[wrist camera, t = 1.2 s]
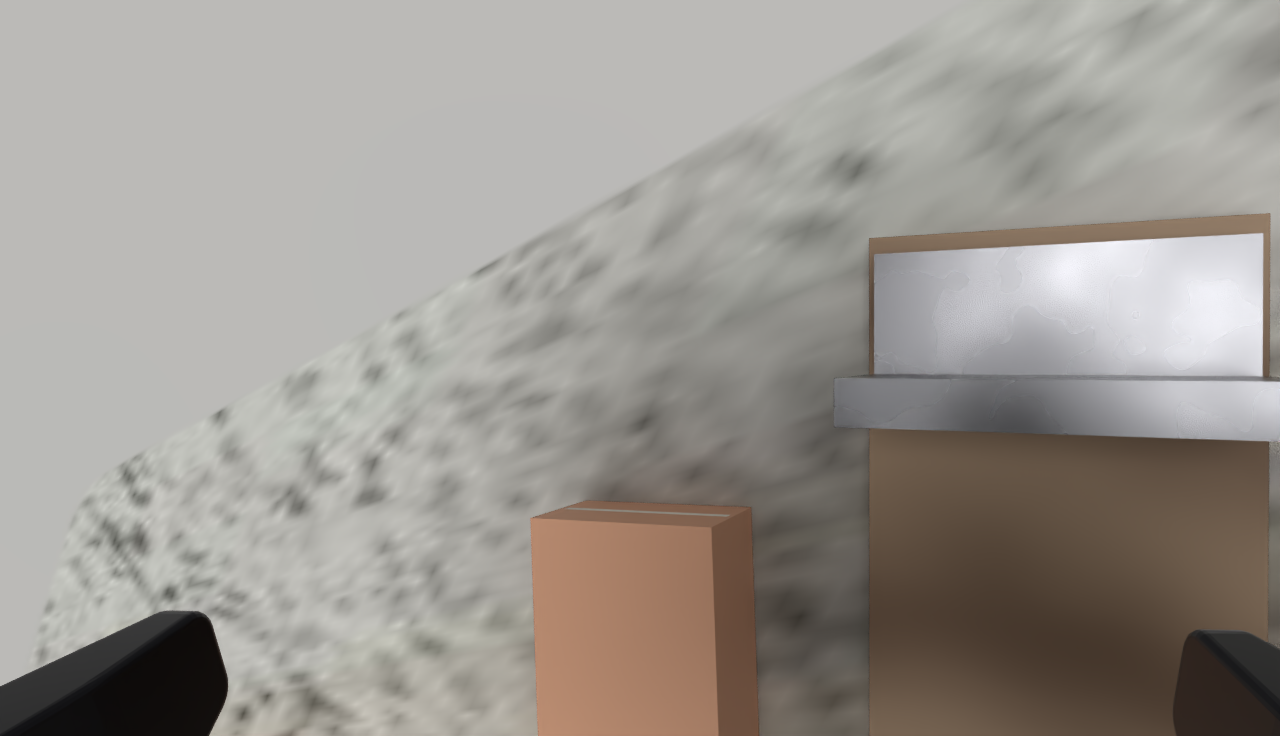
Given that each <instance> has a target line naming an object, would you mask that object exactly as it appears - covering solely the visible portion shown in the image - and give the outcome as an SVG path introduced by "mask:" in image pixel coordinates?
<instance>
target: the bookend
mask: <svg viewBox="0 0 1280 736" xmlns="http://www.w3.org/2000/svg"><path fill="white" fill-rule="evenodd" d="M834 427H844V428H875V429H906V430H937V431H968V432H998V433H1029V434H1060V435H1091V436H1122V437H1153V438H1184V439H1214V440H1245V441H1276V442H1280V378H1276V377H1266V376H1263V233H1256V234H1237V235H1219V236H1200V237H1182V238H1164V239H1145V240H1127V241H1108V242H1090V243H1072V244H1053V245H1035V246H1016V247H998V248H980V249H961V250H943V251H924V252H906V253H888V254H874V374H870V375H861V376H851V377H841V378H834Z"/></svg>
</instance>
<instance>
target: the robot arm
mask: <svg viewBox="0 0 1280 736" xmlns="http://www.w3.org/2000/svg"><path fill="white" fill-rule="evenodd" d="M227 692H228V677H227V673H226V669H225V666H224V663H223V659H222V656H221V653H220V649H219V646H218V642H217V639H216V636H215V632H214V629H213V625H212V623H211V621H210V619H209V618H208V617H207V616H206V615H205V614H204V613H201V612H199V611H163V612H159V613H156V614H154V615H152V616H150V617H148V618H145V619H143V620H141V621H139V622H137V623H135V624H133V625H131V626H128V627H126V628H124V629H122V630H120V631H118V632H116V633H113V634H111V635H109V636H107V637H105V638H103V639H101V640H98V641H96V642H94V643H92V644H90V645H88V646H86V647H83V648H81V649H79V650H77V651H75V652H73V653H71V654H69V655H66V656H64V657H62V658H60V659H58V660H56V661H54V662H51V663H49V664H47V665H45V666H43V667H41V668H39V669H36V670H34V671H32V672H30V673H28V674H26V675H24V676H22V677H19V678H17V679H15V680H13V681H11V682H9V683H7V684H4V685H2V686H0V736H209V735H210V733H211V731H212V728H213V726H214V724H215V722H216V720H217V718H218V716H219V714H220V712H221V710H222V708H223V706H224V703H225V700H226V697H227ZM1173 723H1174V728H1175V733H1176V736H1280V649H1279V648H1277V647H1275V646H1273V645H1272V644H1270V643H1268V642H1266V641H1264V640H1263V639H1261V638H1259V637H1257V636H1255V635H1253V634H1251V633H1249V632H1246V631H1242V630H1212V629H1198V630H1195V631H1193V632H1191V633H1190V634H1188V636H1187V638H1186V639H1185V642H1184V645H1183V650H1182V656H1181V662H1180V668H1179V673H1178V679H1177V685H1176V691H1175V697H1174V702H1173Z"/></svg>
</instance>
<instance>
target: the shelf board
mask: <svg viewBox="0 0 1280 736" xmlns="http://www.w3.org/2000/svg"><path fill="white" fill-rule="evenodd" d="M1256 233H1263V376H1266V377H1269V362H1270V213H1267V214H1251V215H1235V216H1219V217H1203V218H1187V219H1171V220H1155V221H1139V222H1123V223H1107V224H1091V225H1075V226H1059V227H1043V228H1027V229H1011V230H995V231H979V232H963V233H947V234H930V235H914V236H898V237H882V238H869V375H870V374H874V254H888V253H906V252H924V251H943V250H961V249H980V248H998V247H1016V246H1035V245H1053V244H1072V243H1090V242H1108V241H1127V240H1145V239H1164V238H1182V237H1200V236H1219V235H1237V234H1256ZM1268 533H1269V441H1245V440H1214V439H1184V438H1153V437H1122V436H1091V435H1060V434H1029V433H998V432H968V431H937V430H906V429H875V428H869V736H1176V733H1175V728H1174V723H1173V702H1174V697H1175V691H1176V685H1177V679H1178V673H1179V668H1180V662H1181V656H1182V650H1183V645H1184V642H1185V639H1186V638H1187V636H1188V634H1190V633H1191V632H1193V631H1195V630H1198V629H1212V630H1242V631H1246V632H1249V633H1251V634H1253V635H1255V636H1257V637H1259V638H1261V639H1263V640H1264V641H1266V642H1268Z"/></svg>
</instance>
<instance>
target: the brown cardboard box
mask: <svg viewBox="0 0 1280 736" xmlns="http://www.w3.org/2000/svg"><path fill="white" fill-rule="evenodd" d="M531 546H532V575H533V604H534V633H535V662H536V691H537V720H538V736H759V719H758V690H757V661H756V632H755V604H754V575H753V546H752V517H751V507H733V506H709V505H684V504H659V503H635V502H610V501H583V502H580V503H577V504H574V505H571V506H567V507H564V508H561V509H558V510H555V511H551V512H548V513H545V514H542V515H539V516H536V517H532V518H531Z"/></svg>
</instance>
